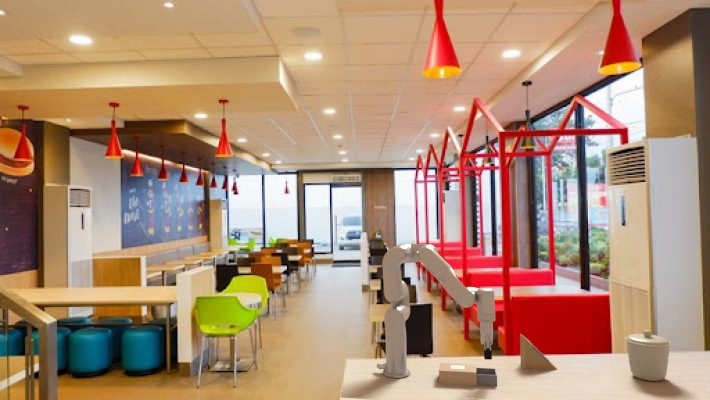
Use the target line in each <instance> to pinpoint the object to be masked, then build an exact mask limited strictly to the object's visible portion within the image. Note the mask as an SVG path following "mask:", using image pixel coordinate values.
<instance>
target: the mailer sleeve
mask: <svg viewBox="0 0 710 400" xmlns="http://www.w3.org/2000/svg"><path fill="white" fill-rule="evenodd" d="M476 368H477V364H473V363H472V364H471V363H452V362H451V363H449V362H439V367H438V383H439V384H445V385H446V384H447V385H461V386H462V385H463V386H464V385H465V386H478V385H477V372H476Z"/></svg>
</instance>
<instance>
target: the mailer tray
mask: <svg viewBox="0 0 710 400" xmlns="http://www.w3.org/2000/svg"><path fill="white" fill-rule="evenodd" d="M476 372H477V385H476V386H490V387H491V386H495V387H498V374H497V369H496V368H491V367H490V368H488V367H487V368H486V367H476Z"/></svg>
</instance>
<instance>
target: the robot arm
mask: <svg viewBox="0 0 710 400" xmlns="http://www.w3.org/2000/svg"><path fill="white" fill-rule="evenodd" d="M406 262H420V264H421V265H422V266H423V267H424V268H425V269H427V271H428V272H429V273H430V274H431V275H433V277H435V278H436V280H437V281H438V283H439V284H440V285H441V286H442V288H443V289H444V290H445V291H446V293H447V294H448V295H449V296H450V297H451V298H452V299H453V300H454V301H455V302H456V303H457V304H458V305H460V306H461V307H463V308H470V307H472V306H473V305H474V304H476V307H477V308H476V310H477V311H476V312H477V321H478V322H479V325H480V327H479V330H480V331H479V332H480V344H481V345H482V346H483V345H484V347H483V348H484V349H483V358H484V360H490V361H491V360H492V359H493V355H492V354H493V353H492V352H493V351H492V345H493V344H494V343H493V341H494V334H493V333H494V327H493V326H494V325H493V322H495V321H496V308H495V307H496V303H495V301H496V300H495V291H494V289H492V288H488V287H483V288H481V287H480V288H478V287H473V286H467V287H466V286H465V284H463V283H462V281H460V279H458V277H457V275H456V274H455V271H454V268H453V266H451V264H450V263H448V262H447V261H446V260H445V259H444V258H443V256H441V255H440V254H439V251H438V249H437V247H436V246H434V245H432V244H429V243H428V244H427V243H410V242H409V243H402V244H397V245H395V246H394V247H391V248H390V249H389V250H388V251H386V252H385V253H384V256H383V259H382V265H381V266H382V274H383V275H382V277H383V278H382V279H383V294H384V298H385V300H386V301H387V302H389V304H390V306H389V307H388V308H387V309H386V310H385V313H384V316H383V317H384V318H383V319H384V320H383V321H384V327H385V328H384V329H385V363H384V362H383V363H376V368H378V370H382V375H384V376H385V377H387V378H391V379H392V378H393V379H400V378H401V379H403V378H407V377H408V376H410V375H411V370H410V369H409V368H407V367H408V366H407V361H408V360H407V329H406V321H407V320H408V319H409V317H410V314H411V304H410V291H409V286H407V283H406V282H405V281H404V280H402V269H401V265H402V264H404V263H406Z"/></svg>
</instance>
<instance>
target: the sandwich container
mask: <svg viewBox="0 0 710 400" xmlns="http://www.w3.org/2000/svg"><path fill="white" fill-rule="evenodd" d="M519 345H520V348H519V349H520V351H519V352H520V353H519V355H520V366H522V368H523V369H524V370H533V369H535V370H537V371H538V370H541V369H542V370H545V371H546V370H547V371H548V370H550V369H551V370H552V371H553V370H555V369H558V368H557V367H556V365H554V364H553V363H552V362H551V361H550V360H549V358H547V357H546V356H545V355H544V354H543V353H542V352H541V351H540V350H539V349H538V348H537V347H536V346H535V345H533V343H531V341H530V340H529V339H528V338H526V337H525V336H524V335H523V334H521V333H520V334H519ZM551 370H550V371H551ZM555 371H556V370H555Z"/></svg>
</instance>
